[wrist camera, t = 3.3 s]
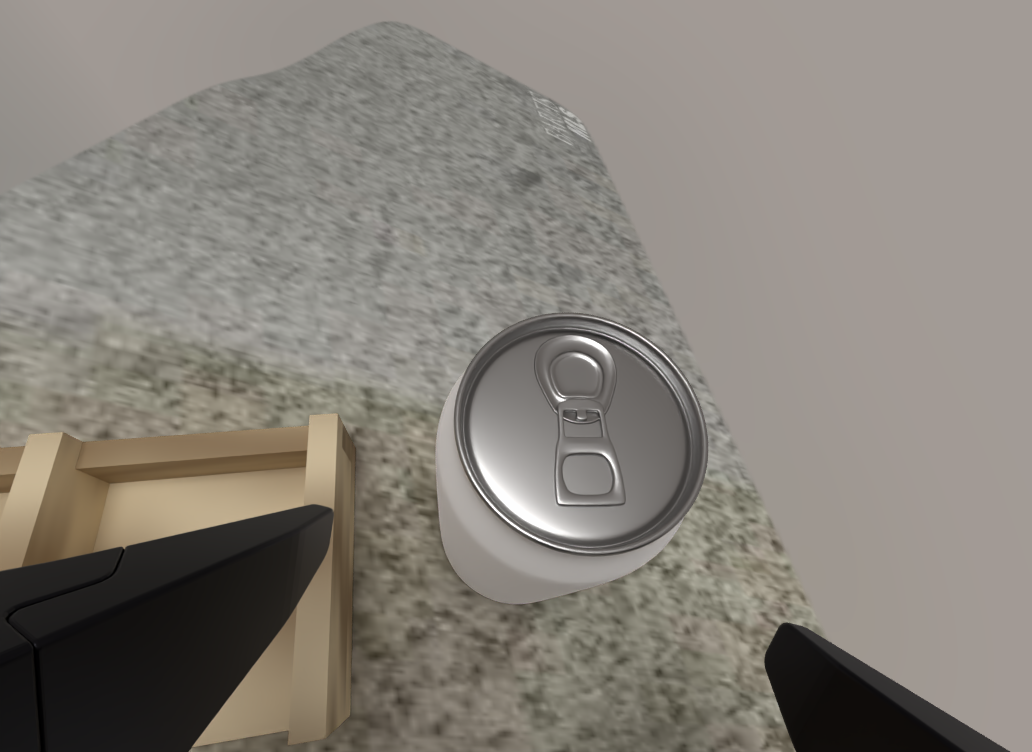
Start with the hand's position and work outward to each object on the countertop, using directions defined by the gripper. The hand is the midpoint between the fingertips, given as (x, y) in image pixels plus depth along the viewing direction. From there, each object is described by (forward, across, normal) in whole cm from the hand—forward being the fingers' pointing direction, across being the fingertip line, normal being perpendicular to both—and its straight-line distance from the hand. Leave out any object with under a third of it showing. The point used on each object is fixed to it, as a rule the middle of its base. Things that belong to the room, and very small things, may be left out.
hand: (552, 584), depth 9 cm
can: (+10, 0, -6) cm, 12 cm away
